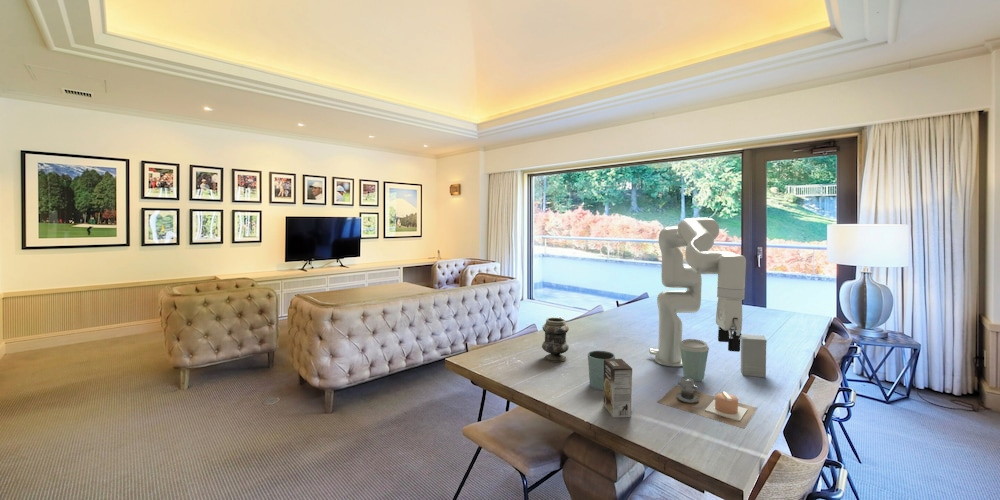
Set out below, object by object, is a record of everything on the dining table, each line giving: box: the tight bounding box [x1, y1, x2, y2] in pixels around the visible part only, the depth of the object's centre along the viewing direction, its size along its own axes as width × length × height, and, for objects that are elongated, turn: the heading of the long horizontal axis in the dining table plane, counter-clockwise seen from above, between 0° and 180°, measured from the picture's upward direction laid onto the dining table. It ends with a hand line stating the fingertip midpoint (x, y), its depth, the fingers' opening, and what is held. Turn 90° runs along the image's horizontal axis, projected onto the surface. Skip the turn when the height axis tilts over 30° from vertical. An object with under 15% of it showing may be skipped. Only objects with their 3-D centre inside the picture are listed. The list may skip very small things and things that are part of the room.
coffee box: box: [602, 358, 633, 418], centre depth 132 cm, size 9×6×16 cm
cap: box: [714, 391, 739, 414], centre depth 130 cm, size 6×6×5 cm
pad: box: [705, 400, 748, 421], centre depth 130 cm, size 10×10×1 cm
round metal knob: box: [676, 377, 699, 404], centre depth 138 cm, size 7×7×7 cm
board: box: [656, 385, 758, 430], centre depth 134 cm, size 26×18×1 cm
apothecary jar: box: [541, 317, 570, 363], centre depth 182 cm, size 12×12×18 cm
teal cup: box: [587, 350, 616, 391], centre depth 152 cm, size 10×10×12 cm
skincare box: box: [740, 333, 768, 378], centre depth 162 cm, size 8×7×16 cm
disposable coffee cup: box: [679, 338, 710, 382], centre depth 157 cm, size 11×11×15 cm
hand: (728, 346), depth 129 cm, fingers open, 9 cm apart
